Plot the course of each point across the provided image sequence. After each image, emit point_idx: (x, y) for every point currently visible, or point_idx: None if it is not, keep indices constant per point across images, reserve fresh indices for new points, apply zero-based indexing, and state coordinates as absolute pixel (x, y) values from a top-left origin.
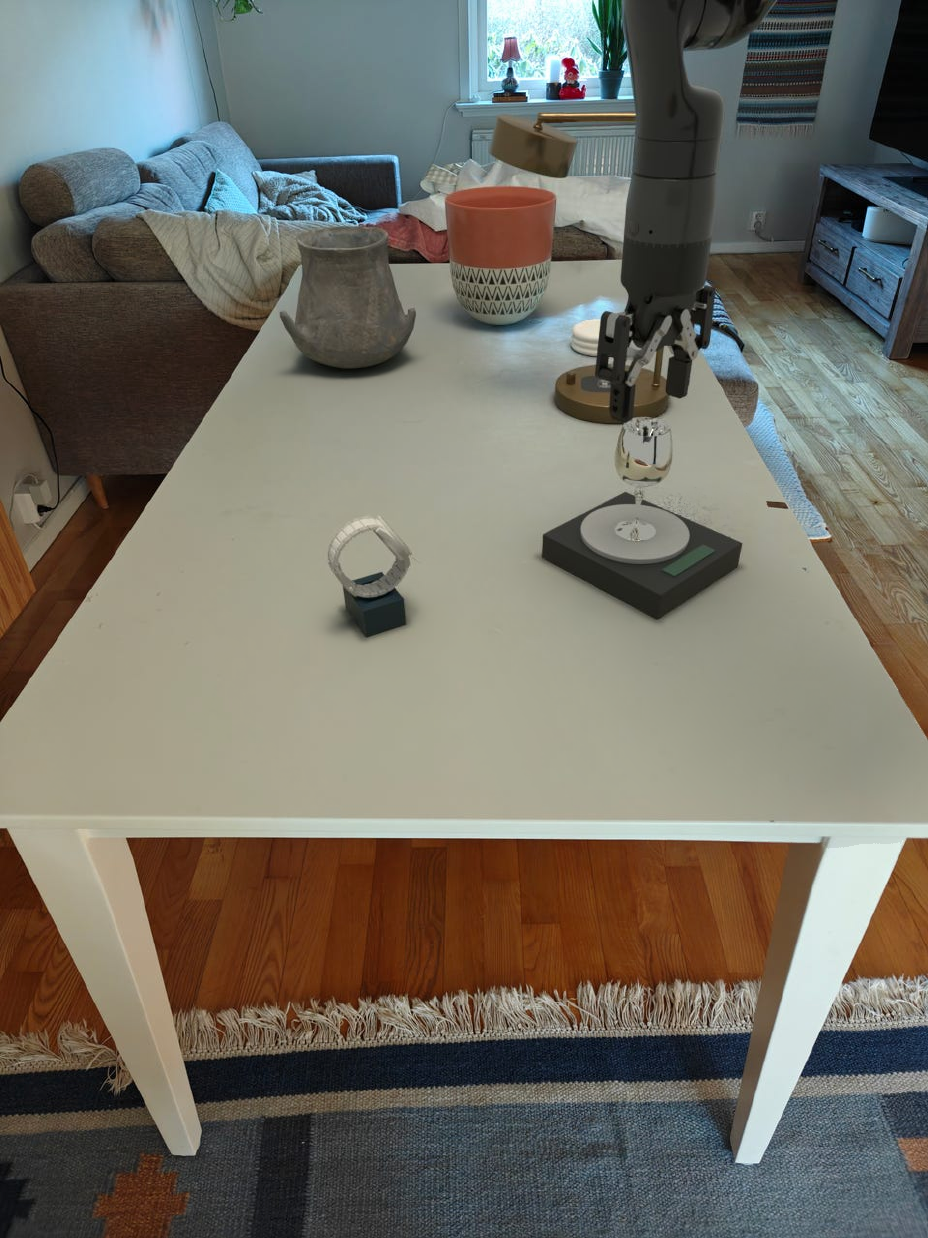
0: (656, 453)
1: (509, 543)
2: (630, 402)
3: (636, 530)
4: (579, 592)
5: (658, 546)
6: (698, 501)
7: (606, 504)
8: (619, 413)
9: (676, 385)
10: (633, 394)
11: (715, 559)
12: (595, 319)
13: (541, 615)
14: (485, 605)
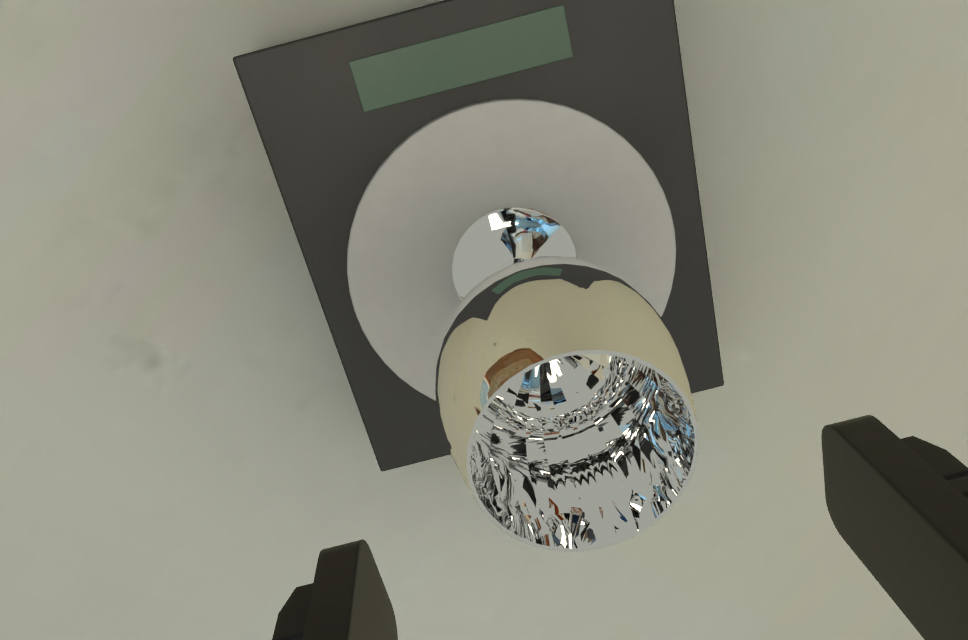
0: (604, 300)
1: (720, 439)
2: (934, 481)
3: (531, 251)
4: (723, 175)
5: (512, 158)
6: (147, 396)
7: None
8: (950, 456)
9: (373, 622)
10: (948, 516)
11: (380, 21)
12: None
13: (868, 135)
14: (941, 240)
